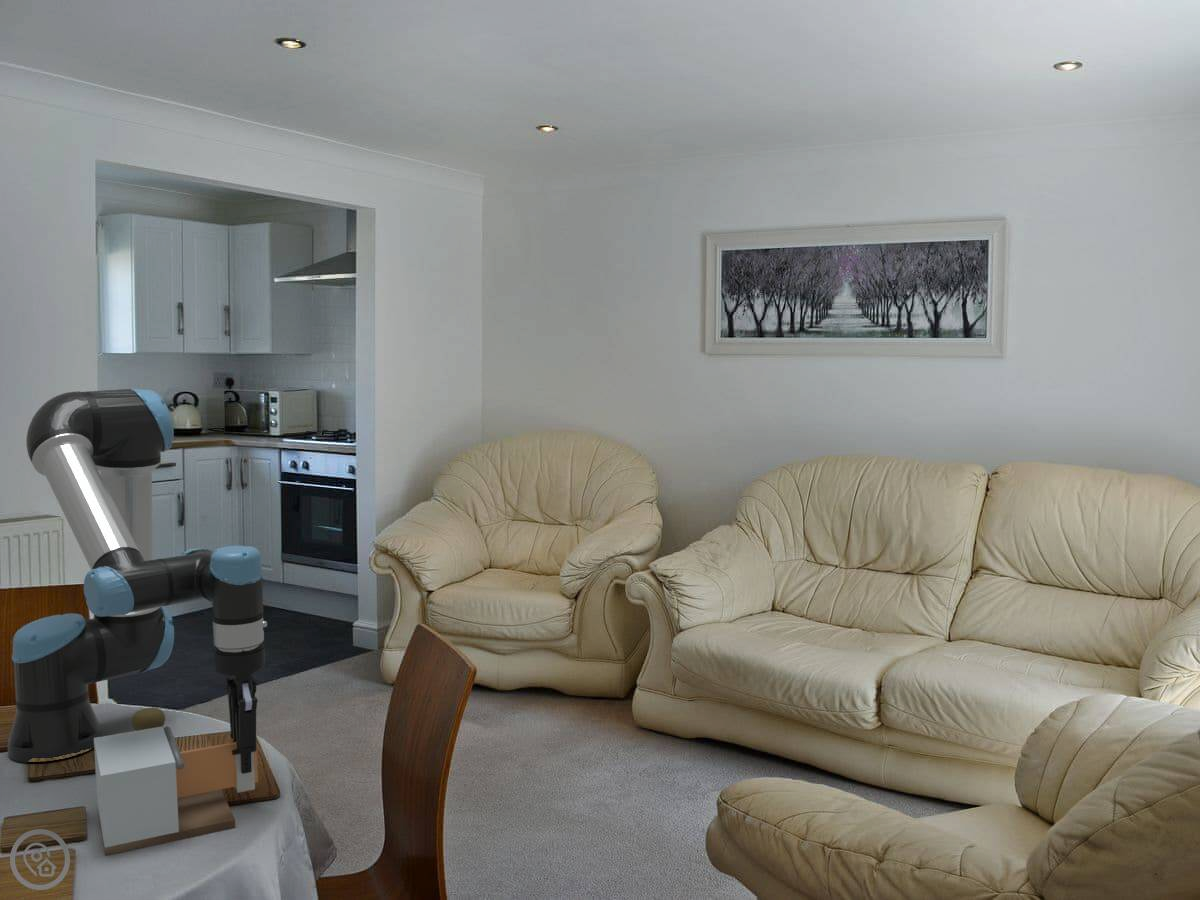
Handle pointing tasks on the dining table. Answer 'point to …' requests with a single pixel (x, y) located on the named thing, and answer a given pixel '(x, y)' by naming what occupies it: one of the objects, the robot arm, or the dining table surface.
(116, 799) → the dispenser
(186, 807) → the walnut board
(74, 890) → the dining table surface
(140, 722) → the olive brown ellipsoid
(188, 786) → the orange rectangular panel
